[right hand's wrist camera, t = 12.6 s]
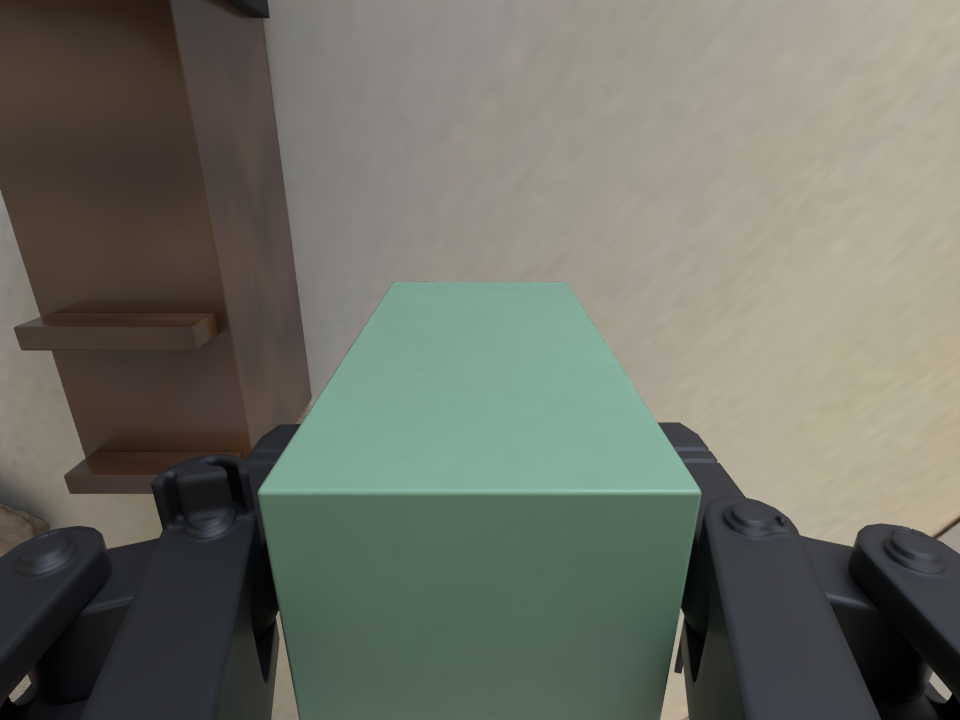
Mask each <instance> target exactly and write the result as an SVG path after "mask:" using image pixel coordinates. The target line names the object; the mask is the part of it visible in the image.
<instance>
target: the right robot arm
mask: <svg viewBox="0 0 960 720" xmlns="http://www.w3.org/2000/svg"><path fill="white" fill-rule="evenodd" d="M300 425H301V424H280V425H279V426H277V427H276V428H274V429H273V430H271V431H269V432H268V433H266V434H265V435H263V436H262V437H261V438H260V440H259V441H258V442H257V444H256V445H255V446H254V448H253V449H252V452H251V453H249V454H248V456H247V457H246V458H245V460H242V459H241V458H240V457H238V456H233V455H229V454H208V455H203V456H199V457H194V458H190V459H187V460H185V461H182V462H180V463H177V464H175V465H173V466H171V467H169V468H168V469H166V470H165V471H163V472H161V473H160V474H159V475H158V476H157V477H156V478H155V479H154V480H153V482H152V483H151V487H152V491H153V495H154V498H155V502H156V506H157V509H158V513H159V517H160V520H161V524H162V528H163V531H162V533H161V536H160V538H157V539H153V540H149V541H145V542H140V543H135V544H130V545H126V546H121V547H116V548H111V549H107V548H106V545H105V542H104V539H103V536H102V534H101V533H100V532H99V531H97V530H96V529H95V528H90V527H83V526H75V527H67V528H60V529H55V530H51V531H50V532H48V531H47V532H45V533H42V534H39V535H37V536H35V537H33V538H31V539H29V540H27V541H25V542H23V543H21V544H19V545H17V546H16V547H14V548H13V549H11V550H10V551H9V552H7V553H6V554H4V555H3V556H1V557H0V720H271V715H272V705H273V696H274V686H275V677H276V667H277V658H278V648H279V633H278V627H277V622H276V615H277V613H278V611H279V607H278V601H277V596H276V590H275V585H274V580H273V574H272V569H271V563H270V558H269V553H268V547H267V542H266V536H265V531H264V526H263V520H262V515H261V510H260V504H259V499H258V490H259V488H260V487H261V485H262V484H263V482H264V481H265V479H266V478H267V476H268V475H269V473H270V471H271V470H272V468H273V467H274V465H275V464H276V462H277V461H278V459H279V458H280V456H281V454H282V453H283V451H284V450H285V448H286V447H287V445H288V444H289V442H290V441H291V439H292V437H293V436H294V434H295V433H296V431H297V430H298V428H299V427H300ZM658 425H659V426H660V428H661V429H662V431H663V432H664V434H665V435H666V437H667V438H668V440H669V442H670V443H671V445H672V446H673V448H674V449H675V451H676V452H677V454H678V456H679V457H680V459H681V460H682V462H683V463H684V465H685V466H686V468H687V470H688V471H689V473H690V474H691V476H692V477H693V479H694V480H695V482H696V483H697V485H698V487H699V488H700V490H701V500H700V505H699V510H698V516H697V521H696V527H695V532H694V538H693V543H692V549H691V554H690V559H689V565H688V570H687V576H686V581H685V587H684V592H683V597H682V603H681V609H682V611H683V613H684V615H685V616H684V622H683V627H682V632H681V637H680V643H679V648H678V653H677V658H676V664H675V671H674V672H676V673H680V674H681V673H682V668H683V666H684V675H685V685H686V694H687V704H688V713H689V720H960V554H958V553H957V552H956V551H954V550H953V549H951V548H950V547H948V546H947V545H946V544H944V543H943V542H941V541H939V540H936V539H934V538H932V537H930V536H928V535H926V534H925V533H923V532H920V531H917V530H914V529H910V528H907V527H903V526H897V525H889V524H874V525H867V526H865V527H864V528H863V529H861V530H860V531H859V532H858V534H857V537H856V540H855V543H854V547H851V546H846V545H841V544H836V543H831V542H826V541H821V540H816V539H812V538H808V537H804V536H801V535H799V532H798V530H797V528H796V527H795V526H794V524H793V523H792V522H791V520H790V519H789V518H788V517H787V516H785V515H784V514H783V513H781V512H780V511H778V510H777V509H776V508H774V507H771V506H769V505H767V504H765V503H762V502H760V501H757V500H753V499H749V498H746V497H745V496H744V495H743V493H742V492H741V491H740V489H739V488H738V487H737V485H736V484H735V483H734V481H733V480H732V479H731V477H730V476H729V475H728V474H727V472H726V471H725V470H724V468H723V467H722V466H721V464H720V463H717V459H716V458H715V456H714V455H713V454H712V452H711V451H708V447H707V446H706V445H705V443H704V442H703V441H702V439H701V438H700V437H699V435H698V434H696V433H695V432H693V431H692V430H690V429H689V428H687V427H685V426H684V425H682V424H681V423H658ZM933 671H934V672H935V673H936V675H937V676H938V677H939V678H940V679H941V680H942V681H943V683H944V684H945V685H946V686H947V687H948V689H949V690H950V691H951V692H952V695H951V697H950V699H949V700H948V701H947V700H946V699H945V698H943V697H942V696H941V695H940V694H939V693H938V692H937V690H936V689H935V688H934V687H933V686H932V684H931V683H930V682H929V680H930V678H931V675H932V673H933ZM27 674H28V677H29V679H30V681H31V685H30V686H29V687H28V688H27V690H26V691H25V692H24V693H23V694H22V695H21V696H20V697H19V698H18V699H17V700H16V701H14V702H12V701H11V700H10V698H9V695H10V693H11V692H12V691H13V690H14V689H15V688H16V686H17V685H18V684H19V683H20V682H21V680H22V679H23V678H24V677H25V676H26V675H27Z"/></svg>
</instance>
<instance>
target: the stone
mask: <svg viewBox="0 0 960 720" xmlns="http://www.w3.org/2000/svg"><path fill="white" fill-rule="evenodd" d="M49 529H50V527H49V524H48V523H47V522H45V521H43V520H41V519H38V518H36V517H34V516H32V515H31V514H29V513H28V512H27V511H20V510H14V509H12V508H10V507H8V506H6V505H3V504H1V503H0V557H1V556H3V555H4V554H6V553H7V552H9V551H10V550H11V549H13V548H14V547H16V546H17V545H19V544H21V543H23V542H25V541H27V540H29V539H31V538H33V537H35V536H37V535H39V534H42V533H45V532H47V531H48V532H49Z"/></svg>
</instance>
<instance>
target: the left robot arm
mask: <svg viewBox="0 0 960 720" xmlns="http://www.w3.org/2000/svg"><path fill="white" fill-rule="evenodd" d="M224 1H226V2H227V3H229V4H231V5H232V6H234V7H236V8H238V9H239V10H241V11H243V12H244V13H246V14H248V15H250V16H251V17H253V18H270V17H269V9H268V1H267V0H224Z"/></svg>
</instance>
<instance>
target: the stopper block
mask: <svg viewBox="0 0 960 720" xmlns="http://www.w3.org/2000/svg"><path fill="white" fill-rule="evenodd" d="M258 499H259V504H260V510H261V515H262V520H263V526H264V531H265V536H266V542H267V547H268V553H269V558H270V563H271V569H272V574H273V580H274V585H275V590H276V596H277V601H278V607H279V612H280V617H281V623H282V628H283V634H284V639H285V644H286V650H287V655H288V661H289V666H290V671H291V677H292V682H293V688H294V693H295V698H296V704H297V709H298V715H299V720H660V717H661V712H662V706H663V701H664V695H665V690H666V684H667V679H668V673H669V668H670V663H671V657H672V652H673V646H674V641H675V635H676V630H677V625H678V619H679V614H680V608H681V603H682V597H683V592H684V587H685V581H686V576H687V570H688V565H689V559H690V554H691V549H692V543H693V538H694V532H695V527H696V521H697V516H698V510H699V505H700V500H701V490H700V488H699V487H698V485H697V483H696V482H695V480H694V479H693V477H692V476H691V474H690V473H689V471H688V470H687V468H686V466H685V465H684V463H683V462H682V460H681V459H680V457H679V456H678V454H677V452H676V451H675V449H674V448H673V446H672V445H671V443H670V442H669V440H668V438H667V437H666V435H665V434H664V432H663V431H662V429H661V428H660V426H659V425H658V423H657V421H656V420H655V418H654V417H653V415H652V414H651V412H650V411H649V409H648V407H647V406H646V404H645V403H644V401H643V400H642V398H641V397H640V395H639V393H638V392H637V390H636V389H635V387H634V386H633V384H632V383H631V381H630V380H629V378H628V376H627V375H626V373H625V372H624V370H623V369H622V367H621V366H620V364H619V362H618V361H617V359H616V358H615V356H614V355H613V353H612V352H611V350H610V348H609V347H608V345H607V344H606V342H605V341H604V339H603V338H602V336H601V334H600V333H599V331H598V330H597V328H596V327H595V325H594V324H593V322H592V321H591V319H590V317H589V316H588V314H587V313H586V311H585V310H584V308H583V307H582V305H581V303H580V302H579V300H578V299H577V297H576V296H575V294H574V293H573V291H572V289H571V288H570V286H569V285H568V283H567V282H393V283H392V285H391V286H390V288H389V289H388V291H387V292H386V294H385V295H384V297H383V298H382V300H381V302H380V303H379V305H378V306H377V308H376V309H375V311H374V312H373V314H372V315H371V317H370V319H369V320H368V322H367V323H366V325H365V326H364V328H363V329H362V331H361V332H360V334H359V336H358V337H357V339H356V340H355V342H354V343H353V345H352V346H351V348H350V349H349V351H348V353H347V354H346V356H345V357H344V359H343V360H342V362H341V363H340V365H339V366H338V368H337V369H336V371H335V373H334V374H333V376H332V377H331V379H330V380H329V382H328V383H327V385H326V386H325V388H324V390H323V391H322V393H321V394H320V396H319V397H318V399H317V400H316V402H315V403H314V405H313V407H312V408H311V410H310V411H309V413H308V414H307V416H306V417H305V419H304V420H303V422H302V424H301V425H300V427H299V428H298V430H297V431H296V433H295V434H294V436H293V437H292V439H291V441H290V442H289V444H288V445H287V447H286V448H285V450H284V451H283V453H282V454H281V456H280V458H279V459H278V461H277V462H276V464H275V465H274V467H273V468H272V470H271V471H270V473H269V475H268V476H267V478H266V479H265V481H264V482H263V484H262V485H261V487H260V488H259V490H258Z"/></svg>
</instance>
